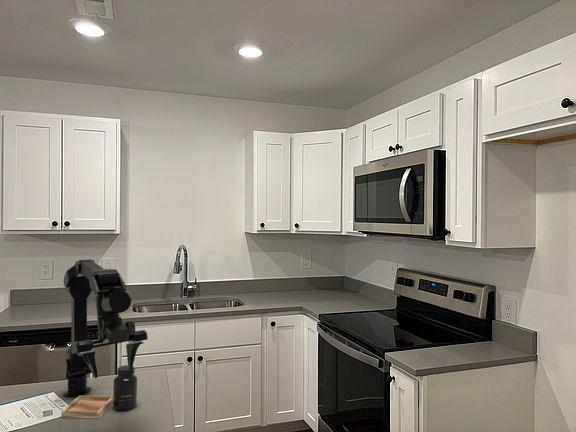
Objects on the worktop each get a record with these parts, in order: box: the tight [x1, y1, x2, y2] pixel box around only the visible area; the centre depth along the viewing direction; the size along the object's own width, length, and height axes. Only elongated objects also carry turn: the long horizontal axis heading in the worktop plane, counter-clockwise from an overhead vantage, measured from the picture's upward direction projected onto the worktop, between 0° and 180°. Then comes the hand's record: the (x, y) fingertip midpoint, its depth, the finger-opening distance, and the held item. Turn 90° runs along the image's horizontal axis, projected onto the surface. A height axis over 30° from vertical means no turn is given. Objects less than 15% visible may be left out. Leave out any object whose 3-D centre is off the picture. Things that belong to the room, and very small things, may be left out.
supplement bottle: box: [112, 364, 138, 412], centre depth 138 cm, size 7×7×12 cm
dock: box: [60, 395, 113, 420], centre depth 136 cm, size 11×11×2 cm
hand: (113, 373), depth 122 cm, fingers open, 9 cm apart
